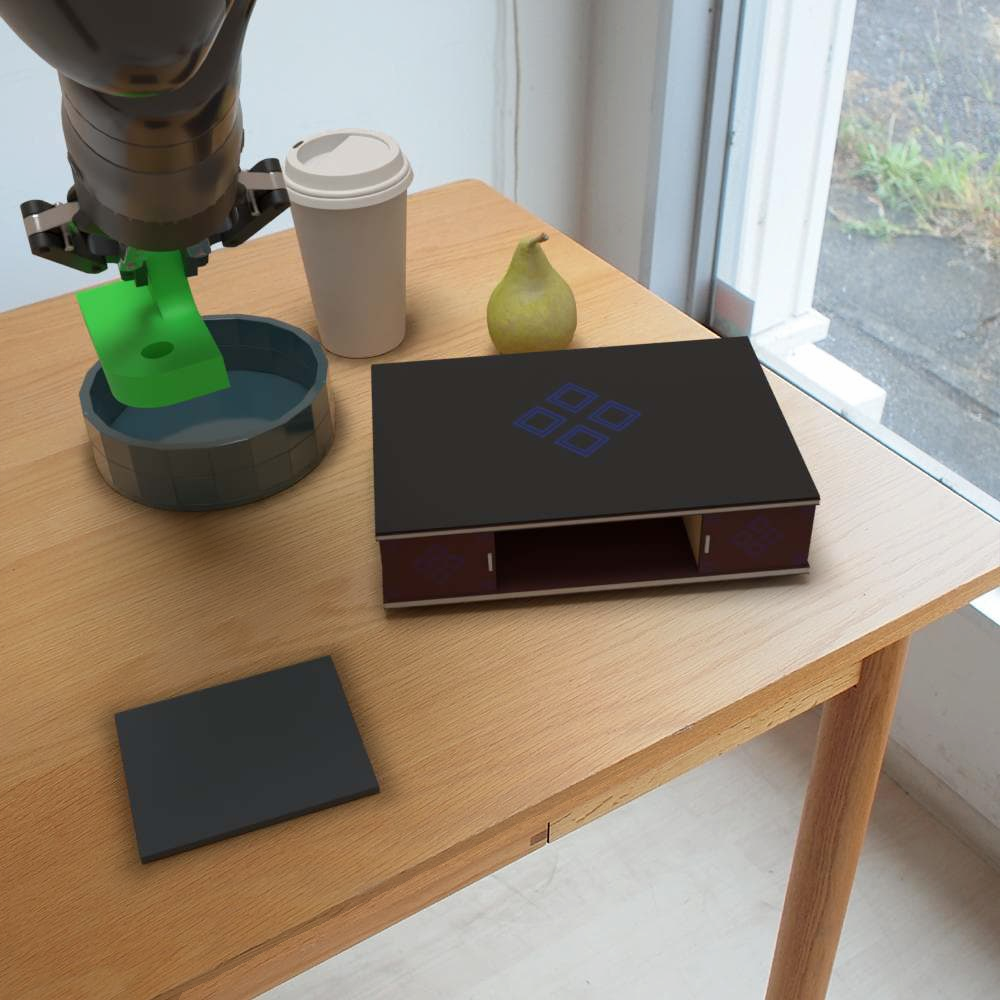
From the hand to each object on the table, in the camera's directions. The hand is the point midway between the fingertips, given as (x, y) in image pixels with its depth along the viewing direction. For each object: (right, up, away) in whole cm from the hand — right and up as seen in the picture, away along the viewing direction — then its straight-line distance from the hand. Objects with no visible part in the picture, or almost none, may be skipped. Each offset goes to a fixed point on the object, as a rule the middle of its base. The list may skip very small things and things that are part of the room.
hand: (162, 265), depth 75 cm
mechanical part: (-1, -5, +1) cm, 5 cm away
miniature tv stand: (+24, -14, +9) cm, 30 cm away
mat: (+6, -27, -6) cm, 28 cm away
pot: (-1, -9, +17) cm, 19 cm away
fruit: (+22, -3, +24) cm, 32 cm away
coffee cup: (+9, -1, +27) cm, 28 cm away
